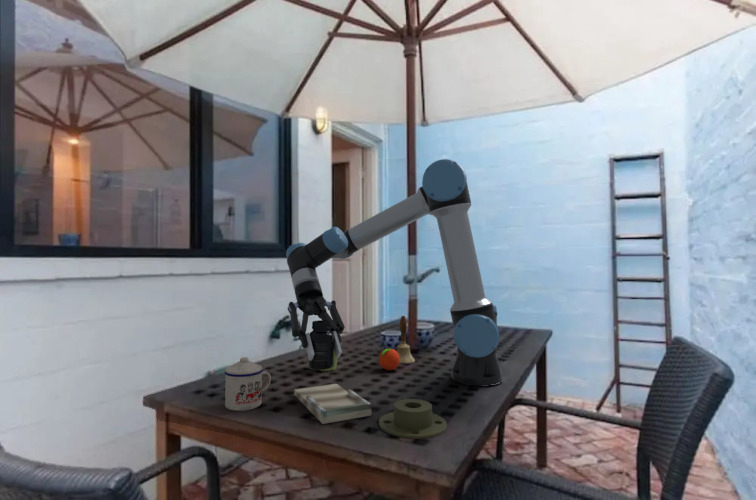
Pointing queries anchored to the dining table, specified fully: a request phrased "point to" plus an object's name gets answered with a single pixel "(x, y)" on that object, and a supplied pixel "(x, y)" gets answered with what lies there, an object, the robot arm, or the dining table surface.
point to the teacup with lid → (244, 385)
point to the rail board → (333, 403)
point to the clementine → (389, 359)
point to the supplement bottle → (322, 346)
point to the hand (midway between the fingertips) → (325, 356)
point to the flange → (412, 420)
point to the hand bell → (404, 344)
